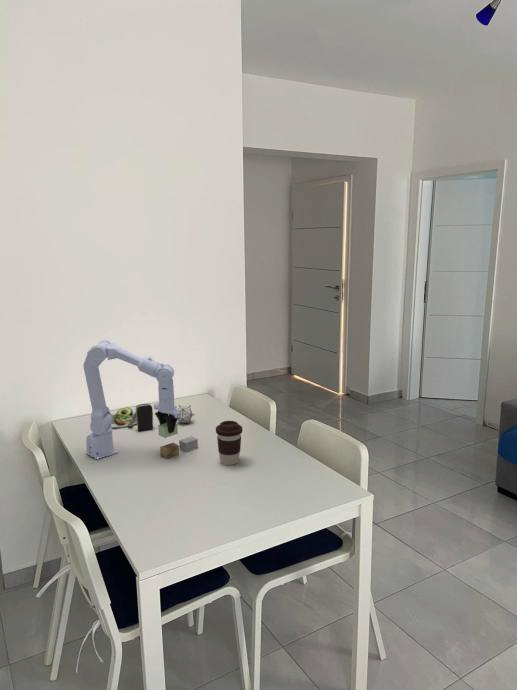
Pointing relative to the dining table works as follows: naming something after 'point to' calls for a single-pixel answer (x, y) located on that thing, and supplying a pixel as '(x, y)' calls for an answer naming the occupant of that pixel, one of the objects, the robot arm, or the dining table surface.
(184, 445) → the grey brick
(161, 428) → the green brick
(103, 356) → the robot arm
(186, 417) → the grey wireframe spiky ball
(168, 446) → the walnut brick
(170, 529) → the dining table surface
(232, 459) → the coffee cup
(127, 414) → the salad plate
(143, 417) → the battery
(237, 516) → the dining table surface
